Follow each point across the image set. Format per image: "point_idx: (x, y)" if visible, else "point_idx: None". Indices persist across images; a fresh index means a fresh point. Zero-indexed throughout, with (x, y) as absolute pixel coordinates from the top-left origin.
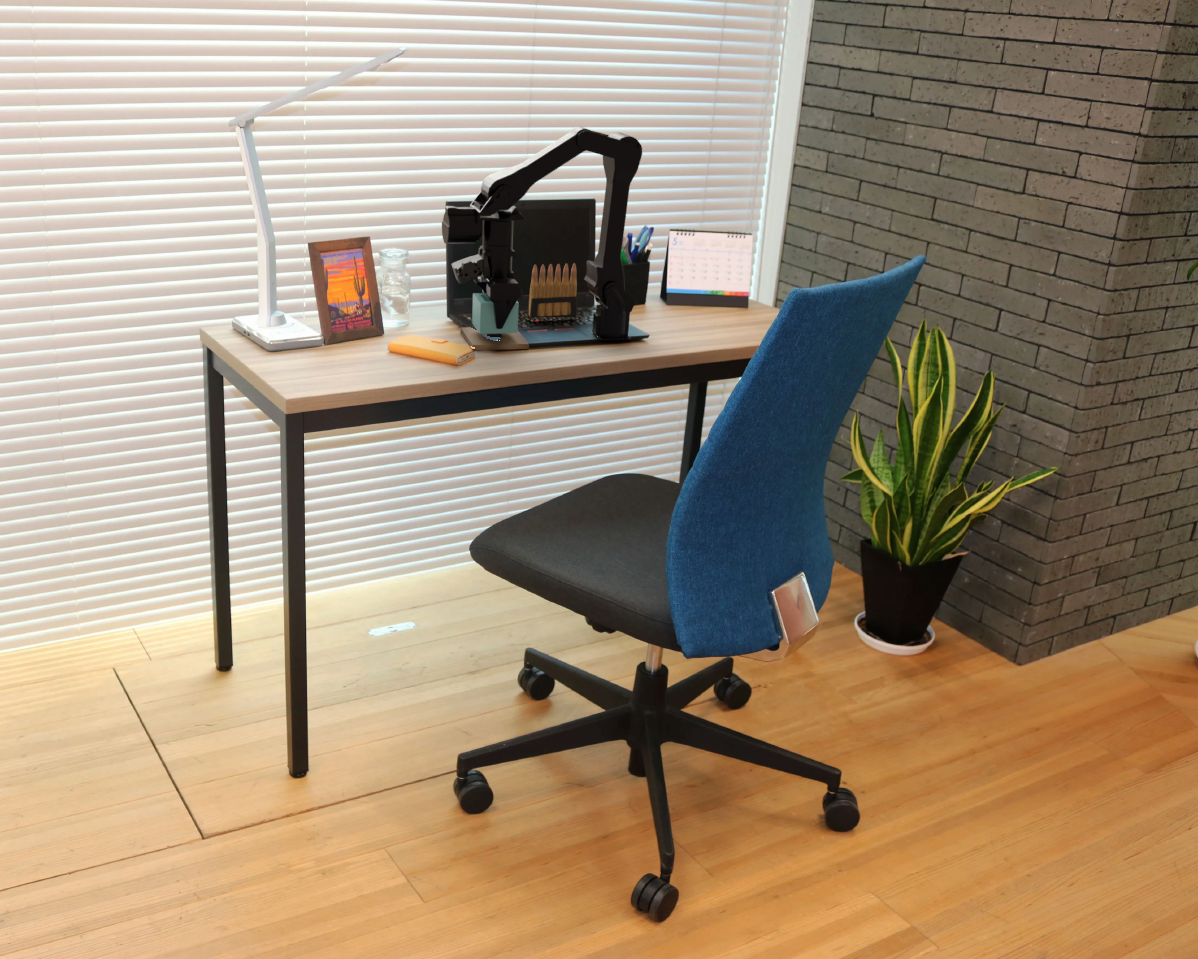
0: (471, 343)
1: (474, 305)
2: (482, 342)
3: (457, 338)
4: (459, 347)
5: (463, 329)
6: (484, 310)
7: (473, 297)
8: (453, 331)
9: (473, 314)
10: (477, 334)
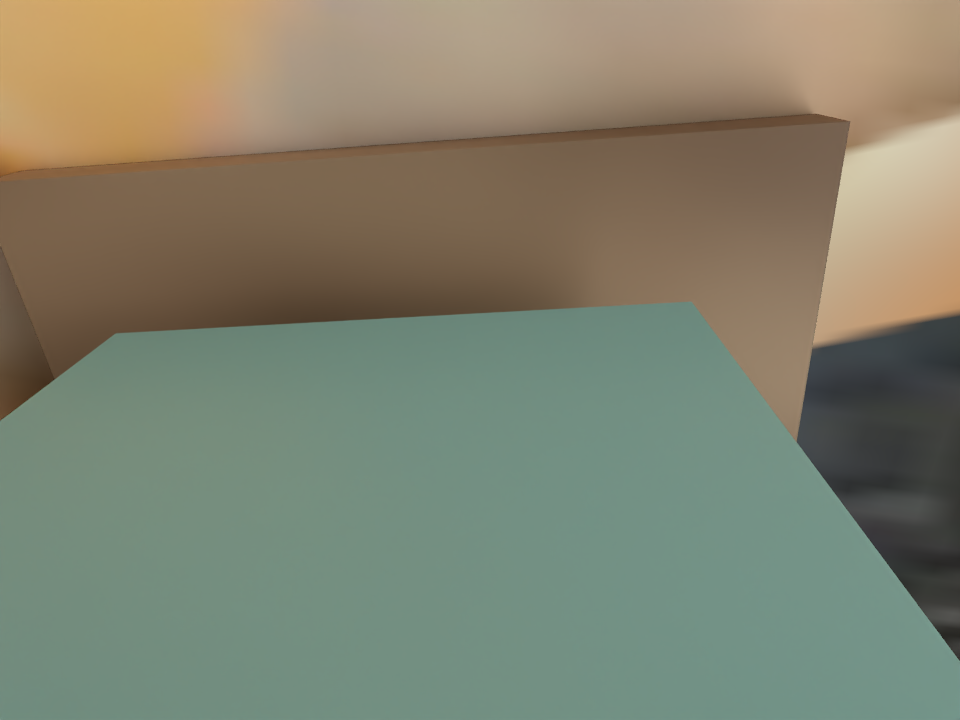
0: (56, 176)
1: (586, 523)
2: (123, 321)
3: (532, 28)
4: (104, 3)
5: (732, 151)
6: None
7: (844, 683)
8: (890, 9)
9: (635, 383)
10: (477, 310)
